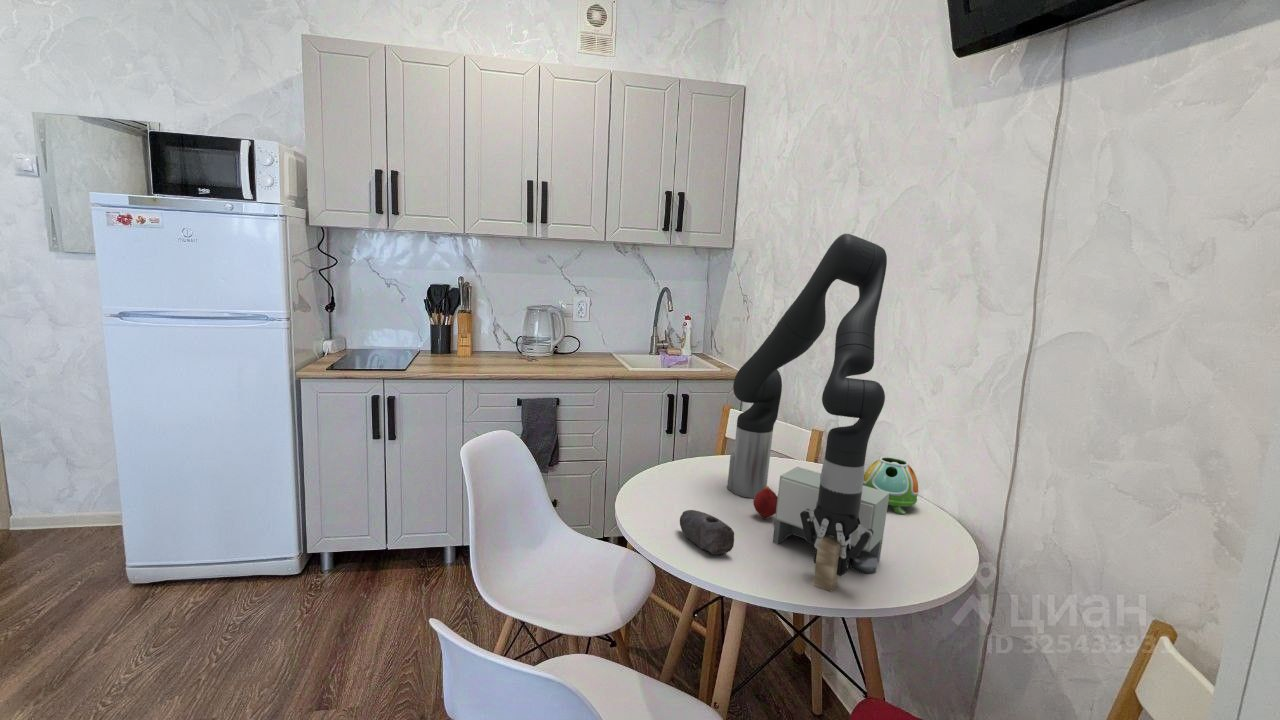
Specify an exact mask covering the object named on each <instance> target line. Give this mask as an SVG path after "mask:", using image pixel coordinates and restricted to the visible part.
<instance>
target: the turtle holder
mask: <svg viewBox="0 0 1280 720" xmlns="http://www.w3.org/2000/svg"><path fill="white" fill-rule="evenodd" d="M863 485H864V486H867V487H871V488H874V489H878V490H881V491H885V492H888V493H890V494H889V500H888V506H891V507H892V510H893V512H894V513H897V514H899V515H905V514H907V513H906V511H905V510H904V509H903V508H902V507H912V506H915V505H916V503H918V495H919V493H920V491H919V482H918V478H917V475H916V472H915V471H914V470H913V468H912V467H911V466H910V464H909V462H908V461H907V460H904V459H901V458H896V457H892V456H891V457H890V456H880V457H879V459H877V460H876V461H874V462H873V463H872V464H870V465H869V466H868V467H867V469H866V471H864V482H863Z"/></svg>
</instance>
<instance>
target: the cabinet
mask: <svg viewBox="0 0 1280 720" xmlns="http://www.w3.org/2000/svg"><path fill="white" fill-rule="evenodd" d="M820 475H821V472H818V471H814V470H810V469H807V468H803V467H800V466H796V467H794V468H792V469H790V470H788V471H786V472H785V473H783V474H781V475H780V476H779V483H778V492H777V497H778V499H777V507H776V514H775V517H774V525H773V526H774V527H773V534H772V543H774V544H780V542H783V541H784V540H785V539H787V538H788V537H789V536H791V535H794V536H797V537H800V538H803V539H805V540H806V538H805V533H804V529H803V525H802V521H801V516H800V513H801V512H802V511H804V510H806V509H810V510H815V508H816V507H817V502H818V494H819V487H820ZM889 494H890V493H888V492H885V491H881V490H878V489H874V488H871V487H867V486H864V485H863V489H862V496H861V503H860V510H859V520H860V524H861V525H862V526H863V527H865V528H866V529H867V530H868V529H872V530H873V532H874V534H873V535H872V537H871V538H870V540H869V541H868V543H867V544H866V546H865V547H864V549H863V550H862V551H865V552H868V553H871V554H873V555H875V556H876V557H877V559H878V561H877V565H878V564H879V563H880V561H881V553H882V546H883V542H884V541H883V540H884V534H885V526H886V521H887V520H886V519H887V515H888V514H887V513H888V506H889V505H888V500H889ZM813 522H814V526H815V530H816V534H817V535H818V532H819V529H820V526H819V524H818V522H817V520H816V518H815V519H814V520H813ZM857 535H858V531H857V530H855V531H854V532H852V533H851V542H850V546H852V547H855V545H856V544H857V542H858V541H859V538H858V536H857ZM833 537H834V536H833Z"/></svg>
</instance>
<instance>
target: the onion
mask: <svg viewBox="0 0 1280 720" xmlns="http://www.w3.org/2000/svg"><path fill="white" fill-rule="evenodd" d="M777 499H778V495H777V494H776V493H775V492H774V491H773V490H772V489H771V488H770V487H769V485H767V486H765V489H764V490H762V491H760V492H759V493H758V494H757V495H756V496H755V498H754V499H753V506H754V509H755V511H756V513H758V514H759V516H760V517H761V518H762V519H763V520H766V519H768V518H771V517H772V516H774V515H776V507H777Z"/></svg>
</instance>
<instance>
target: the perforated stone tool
mask: <svg viewBox="0 0 1280 720" xmlns="http://www.w3.org/2000/svg"><path fill="white" fill-rule="evenodd" d="M679 526H680V528H681V531H682V533H683V535H685V537H686V538H687V539H688V540H690V541H692V543H693V544H695V545H697V547H698V548H700V549H702V550H705V551H708V552H710V554H712V555H714V556H717V555H719V554H720V555H725V554H727V553H729V552H731V551H732V550H733V548H734V543H735V532H734V530H733V529H732V527H731V526H729V525H728V524H727V523H725V522H724V521H722V520H721V519H720V518H717V517H715V516H713V515H711V514H708V513H706V512H704V511H703V512H702V511H699V510H696V509H695V510H694V509H688V510H687V509H686V510H684V511H683V512H682V513H681V515H680V517H679Z"/></svg>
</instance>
